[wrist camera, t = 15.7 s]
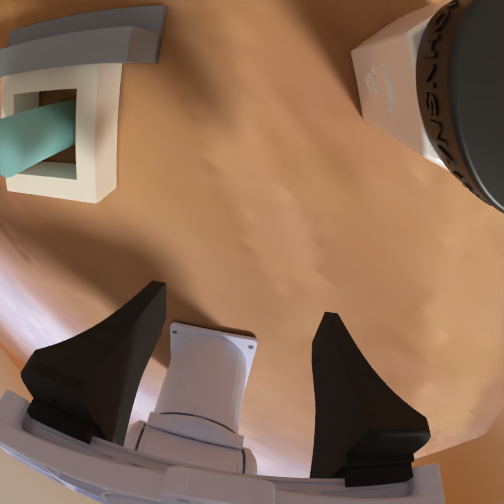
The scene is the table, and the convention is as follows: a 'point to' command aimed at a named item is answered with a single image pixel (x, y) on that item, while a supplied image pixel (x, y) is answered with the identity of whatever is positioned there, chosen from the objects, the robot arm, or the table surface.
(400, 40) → the jar
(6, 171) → the dowel
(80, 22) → the wall
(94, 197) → the block
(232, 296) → the table surface
